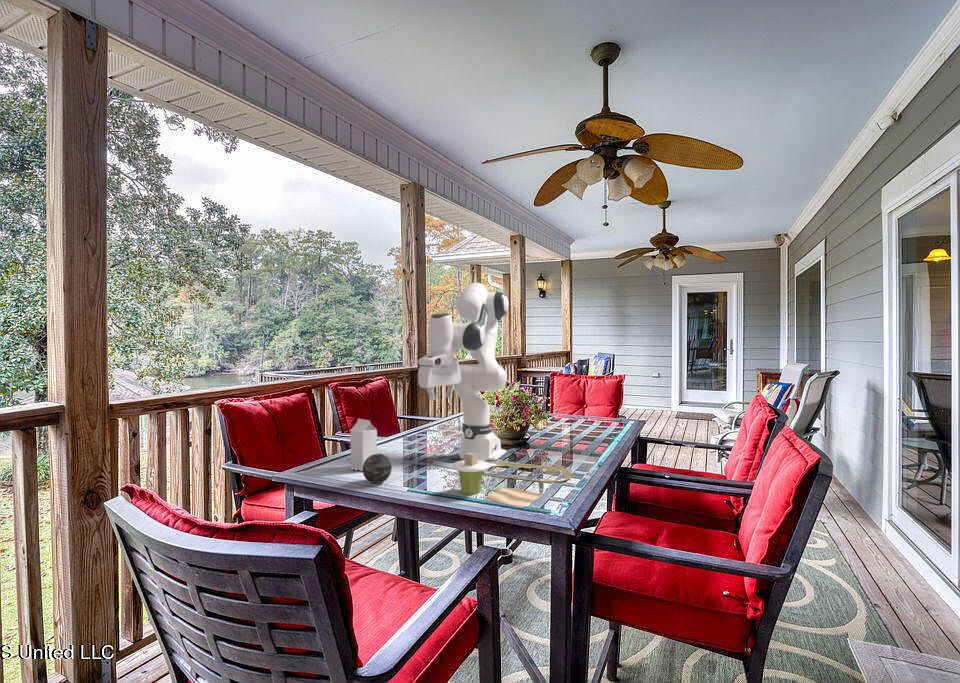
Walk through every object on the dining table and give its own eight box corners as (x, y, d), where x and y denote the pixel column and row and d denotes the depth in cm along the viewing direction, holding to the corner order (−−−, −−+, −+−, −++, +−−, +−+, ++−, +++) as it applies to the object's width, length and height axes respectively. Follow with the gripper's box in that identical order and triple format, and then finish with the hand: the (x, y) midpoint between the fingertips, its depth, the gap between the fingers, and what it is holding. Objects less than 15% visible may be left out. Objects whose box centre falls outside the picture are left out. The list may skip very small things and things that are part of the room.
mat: (505, 488, 162) (505, 486, 162) (543, 496, 155) (543, 494, 155) (482, 500, 151) (482, 498, 151) (522, 509, 143) (522, 507, 143)
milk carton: (362, 472, 182) (362, 421, 182) (350, 469, 186) (350, 420, 186) (377, 468, 188) (377, 419, 188) (365, 465, 192) (365, 417, 192)
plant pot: (460, 499, 152) (460, 471, 152) (453, 490, 161) (453, 464, 161) (488, 496, 154) (488, 469, 154) (480, 487, 164) (480, 462, 163)
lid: (466, 460, 166) (466, 447, 166) (496, 465, 159) (496, 452, 159) (445, 468, 156) (445, 455, 156) (476, 474, 149) (475, 460, 149)
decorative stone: (382, 476, 177) (381, 449, 176) (397, 482, 169) (397, 454, 169) (357, 482, 170) (357, 454, 170) (372, 489, 162) (372, 459, 162)
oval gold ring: (565, 487, 165) (565, 483, 165) (470, 476, 178) (470, 472, 178) (576, 473, 182) (576, 469, 182) (489, 464, 195) (489, 460, 195)
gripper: (451, 357, 181) (451, 395, 181) (415, 360, 163) (415, 401, 164) (465, 358, 177) (465, 396, 177) (429, 360, 160) (429, 402, 160)
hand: (440, 398), depth 170 cm, fingers open, 8 cm apart
